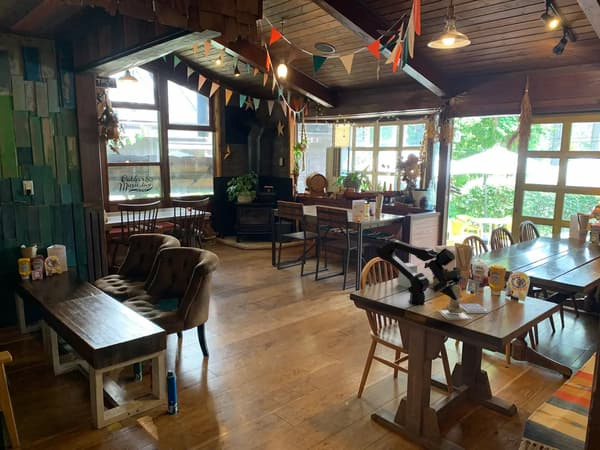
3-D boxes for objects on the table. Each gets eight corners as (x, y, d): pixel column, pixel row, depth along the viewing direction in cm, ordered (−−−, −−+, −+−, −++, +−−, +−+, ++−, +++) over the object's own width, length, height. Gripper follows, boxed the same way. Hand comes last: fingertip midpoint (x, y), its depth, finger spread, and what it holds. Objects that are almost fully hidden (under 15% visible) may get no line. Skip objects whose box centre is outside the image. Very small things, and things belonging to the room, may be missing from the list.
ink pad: (467, 313, 210) (467, 310, 210) (458, 306, 220) (458, 303, 220) (487, 313, 211) (487, 310, 211) (477, 306, 221) (477, 303, 221)
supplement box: (406, 288, 247) (407, 266, 245) (397, 284, 254) (399, 263, 252) (416, 286, 251) (417, 265, 249) (407, 283, 257) (409, 262, 255)
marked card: (447, 319, 202) (447, 318, 202) (437, 310, 214) (437, 309, 214) (472, 319, 203) (472, 318, 203) (460, 310, 215) (460, 309, 215)
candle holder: (425, 285, 255) (428, 250, 251) (440, 284, 256) (442, 250, 252) (431, 289, 246) (434, 254, 243) (446, 289, 247) (449, 254, 244)
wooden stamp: (449, 312, 206) (451, 286, 203) (446, 308, 212) (448, 282, 209) (462, 313, 205) (464, 287, 203) (459, 309, 211) (461, 283, 209)
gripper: (441, 265, 200) (462, 294, 195) (459, 258, 214) (480, 286, 208) (424, 277, 207) (444, 306, 201) (443, 271, 220) (462, 297, 214)
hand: (458, 298), depth 206 cm, fingers closed on wooden stamp, 4 cm apart
